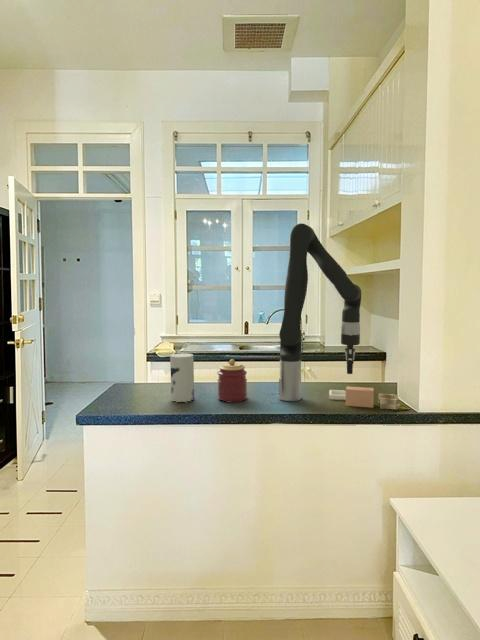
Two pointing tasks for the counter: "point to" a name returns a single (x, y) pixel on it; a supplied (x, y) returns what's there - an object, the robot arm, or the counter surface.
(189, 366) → the container
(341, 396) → the tray
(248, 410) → the counter surface
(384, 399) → the dock
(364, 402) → the block
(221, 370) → the canister
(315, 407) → the counter surface
